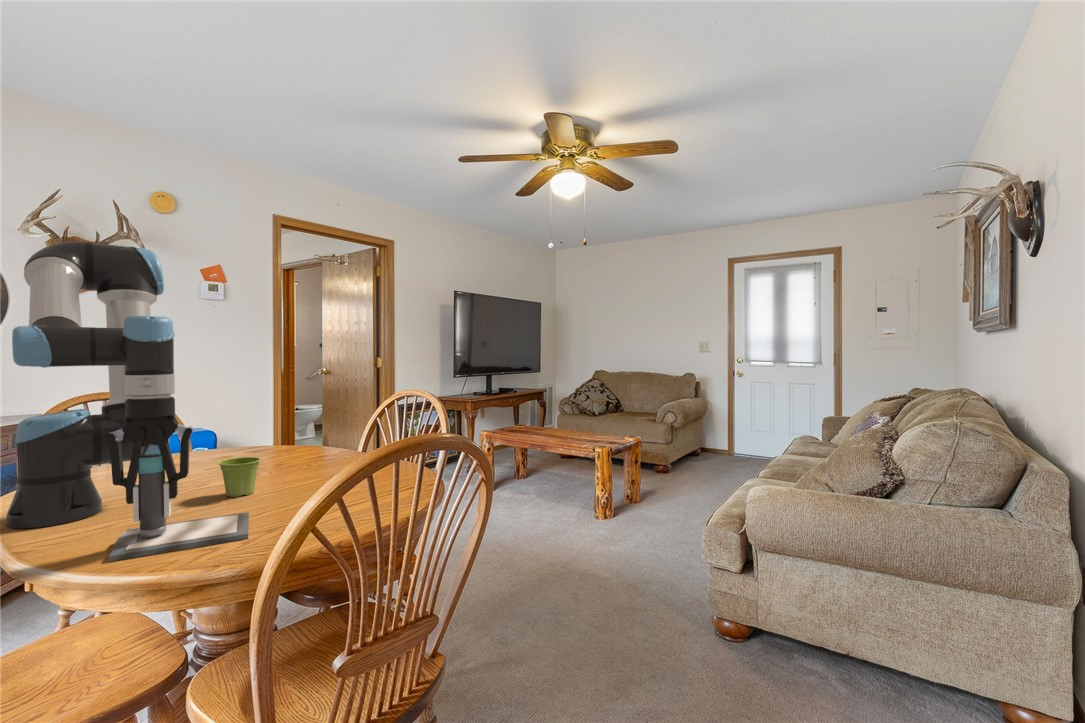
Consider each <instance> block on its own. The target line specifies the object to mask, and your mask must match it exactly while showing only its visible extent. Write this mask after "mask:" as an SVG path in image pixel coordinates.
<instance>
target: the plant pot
mask: <svg viewBox="0 0 1085 723" xmlns="http://www.w3.org/2000/svg"><path fill="white" fill-rule="evenodd" d="M261 461H262V458H261V457H257V456H242V457H241V456H239V457H232V458H228V459H222V460H220V461H218V463H217V464H218V465H219V466H220V470H221V472H222V478H223V483H224V488H225V494H226V495H225V496H228V497H229V498H230V497H231V498H232V497H234V498H236V497H237V498H239V497H242V496H243V495H246V496H249V495H251V494H254V492H255V486H256V480H257V473H258V467H259V466H260V462H261Z"/></svg>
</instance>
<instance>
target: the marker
mask: <svg viewBox="0 0 1085 723" xmlns="http://www.w3.org/2000/svg"><path fill="white" fill-rule="evenodd" d="M165 482H166V471H165V467H164V464H163V460H162V456H161V453H156V454H147V455H142V456H141V457H140V458H139V463H138V484H139V515H140V520H139V528H140V536H141V537H149V536H155V535H159V534H162V533H164V532H166V524H167V518H164V483H165Z"/></svg>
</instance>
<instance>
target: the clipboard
mask: <svg viewBox="0 0 1085 723" xmlns="http://www.w3.org/2000/svg"><path fill="white" fill-rule="evenodd" d="M249 514H250V513H249V511H246V512H241V513H233V514H226V515H218V516H212V517H205V518H197V519H192V520H191V519H190V520H184V521H177V522H169V523H166V532H164V533H162V534H159V535H155V536H149V537H141V536H140V527H136V528H129V529H127V530H125V531H124V532H121V534H120V535H119V536H118V538H117V539H116V541H115V542H114V548H113V549H112V551H111V552H110V554H109V555H108V562H109V563H111V562H116V561H121V560H127V559H135V558H139V557H141V558H142V557H147V556H152V555H158V554H159V555H160V554H164V553H168V552H170V553H171V552H176V551H182V550H189V549H193V548H194V549H195V548H199V547H206V546H211V545H218V544H225V543H230V542H236V541H241V540H242V541H243V540H249V527H250V526H249V521H250V520H249V518H250V515H249Z"/></svg>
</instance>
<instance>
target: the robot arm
mask: <svg viewBox="0 0 1085 723" xmlns="http://www.w3.org/2000/svg"><path fill="white" fill-rule="evenodd" d="M163 272H164V271H163V268H162V264H161V260H160V259H159V256H158V255H157V253H155V251H153V250H151V249H146V248H140V247H136V246H126V245H125V246H124V245H116V244H115V245H114V244H104V243H95V242H87V241H86V242H85V241H81V240H72V241H71V240H68V241H61V242H56V243H54V244H50V245H47V246H45V247H43V248H41V249H39V250H38V251H36V252H35V253H33V254H32V255H31V256H30V257H29V258H28V259H27V261H26V263H25V265H24V268H23V277H24V281H25V283H26V284H27V285H28V286H29V308H28V310H29V311H28V312H29V313H28V314H29V315H28V316H29V317H28V325H20V326H19V325H18V326H16V327H14V328H13V329H12V332H11V333H12V335H11V337H12V340H11V341H12V342H11V343H12V344H11V346H12V359H13V362H14V363H15V364H16V365H17V366H19V367H31V368H32V367H37V368H39V367H41V368H44V369H45V368H52V367H53V368H54V367H84V366H85V367H86V366H87V367H89V366H91V367H93V366H94V367H97V366H99V367H101V366H102V367H104V366H108V367H107V368H108V388H109V399H108V400H107V401H106V402H105V403H104V404H103V405H102V406H101V413H100V414H91V412H90V410H89V409H86V408H79V409H69V410H62V411H56V412H49V413H44V414H40V415H39V414H38V415H34V416H31V417H27V418H25V419H22V420H21V421H20V422H19V423H18V424H17V427H16V434H15V435H16V439H15V440H14V444H15V445H16V470H17V471H16V473H17V474H16V476H17V488H16V490H15V493H14V496H13V497H12V500H11V503H10V505H9V507H8V510H7V513H6V515H5V516H6V517H5V518H6V520H5V521H6V523H5V524H6V527H8V528H10V529H11V528H13V529H33V528H35V529H36V528H41V527H42V528H43V527H44V528H45V527H51V526H56V525H62V524H66V523H71V522H72V523H73V522H74V521H75V522H77V521H78V520H82V519H83V520H84V519H86V518H89V517H91V516H94V515H97V514H98V513H100V512H101V511H102V509H103V503H102V498H101V495H100V494H99V491H98V490H97V487H96V485H95V483H94V481H93V479H92V475H91V474H92V473H91V472H92V469H91V467H92V466H99V465H106V464H110V466H111V480H112V485H114V486H120V487H124V488H125V503H126V504H127V505H130V504H131V505H132V504H133V508H132V509H133V512H132V513H133V523H137V522H140V515H139V483H137V480H138V476H139V473H138V463H139V458H140V457H141V456H142V455H147V454H156V453H161V456H162V460H163V464H164V467H165V475H166V478H167V480H165V483H164V518H166V519H167V518H170V517H171V515H172V499H177V496H178V481H180V480H182V479H185V478H187V476H188V475H189V473H190V472H189V471H190V469H189V468H190V467H189V466H190V438H191V436H192V434H193V432H194V430H195V429H194V427H193V426H185V425H182V424H179V422H178V420H177V418H176V399H175V398H174V396H172V395H174V394H175V393H176V392H175V391H176V390H175V389H176V388H175V387H176V386H175V384H176V383H175V382H176V381H175V367H174V366H175V365H174V363H175V362H174V361H175V358H174V356H175V354H174V353H175V352H174V351H175V350H174V348H175V346H174V342H175V341H174V339H175V332H174V323H173V320H172V319H171V318H169V317H166V316H156V315H151V305H152V304H155V302H157V301H158V296H160V295H163V293H164V290H165V284H164V283H165V282H164V273H163ZM79 290H80V291H81V290H82V291H83V290H84V291H92V292H96V299H97V300H99V301H100V302H102V303H103V304H104V305H105V318H106V327H96V326H95V327H94V326H93V327H91V326H90V327H89V326H88V327H86V326H82V315H81V313H82V312H81V303H80V302H81V301H80V293H79V292H80V291H79ZM176 431H177V432H178V434H177V435H178V436H179V437H180V439H181V440H180V449H179V451H180V452H179V453H180V454H179V455H180V456H179V471H178V472H177V469H176V464H175V462H174V458H173V455H172V451H171V448H170V440H171V436H173V434H175V432H176ZM125 462H130V463H129V466H128V471H127V473H126V474H127V475H126V477H125V475H124V463H125ZM136 483H137V484H136Z"/></svg>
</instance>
